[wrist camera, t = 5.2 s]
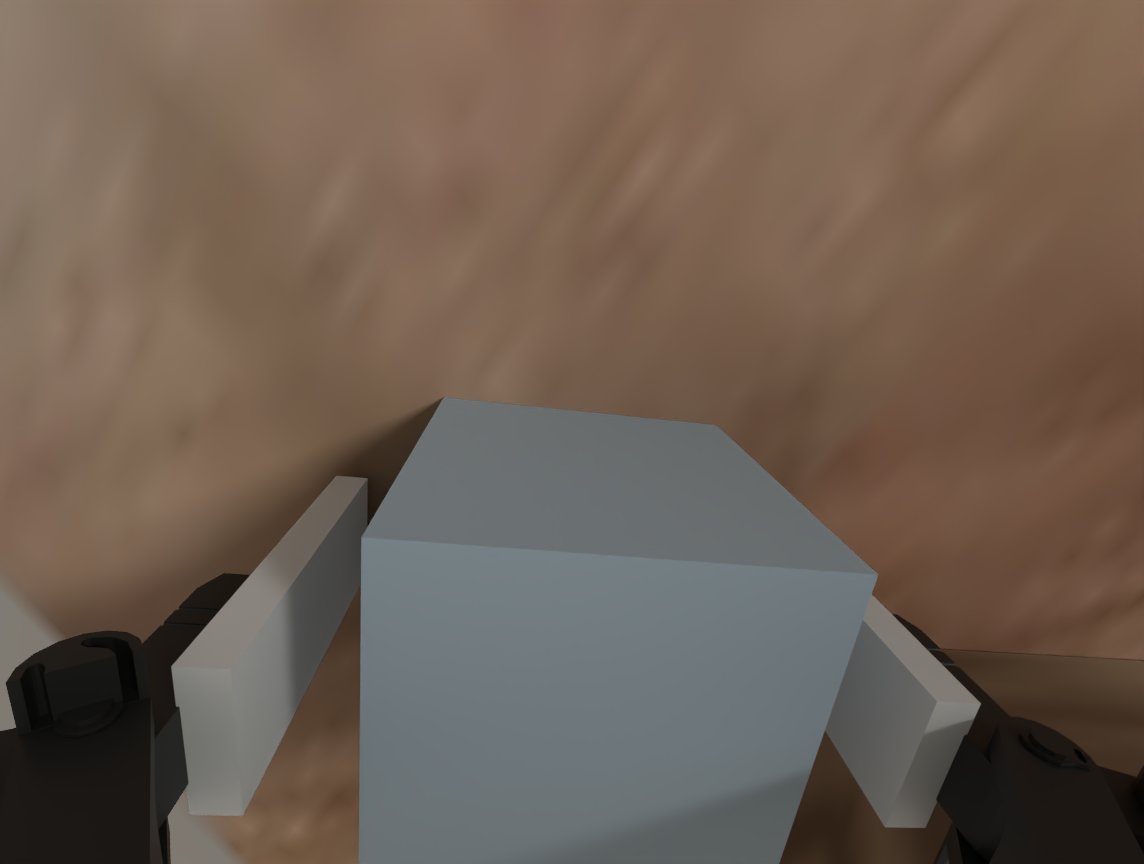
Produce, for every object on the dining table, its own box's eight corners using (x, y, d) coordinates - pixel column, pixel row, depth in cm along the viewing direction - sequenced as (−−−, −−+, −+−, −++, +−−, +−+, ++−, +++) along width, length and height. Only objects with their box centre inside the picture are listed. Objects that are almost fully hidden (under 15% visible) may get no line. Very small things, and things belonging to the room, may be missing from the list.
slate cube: (444, 396, 13) (361, 537, 7) (715, 424, 14) (878, 574, 8) (431, 632, 16) (358, 913, 9) (667, 644, 16) (761, 912, 10)
